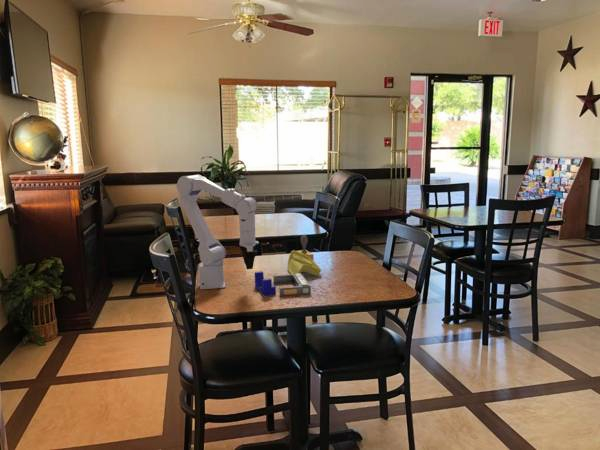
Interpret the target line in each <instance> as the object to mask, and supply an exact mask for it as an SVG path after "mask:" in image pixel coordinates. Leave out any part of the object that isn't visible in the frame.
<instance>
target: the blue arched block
mask: <svg viewBox="0 0 600 450" xmlns="http://www.w3.org/2000/svg"><path fill="white" fill-rule="evenodd" d="M272 280H273V279H272V278H271V277H270V278H264V271H254V287H255V288H256V289H257V290H258V292H260V293H261V295H262V296H263V297H266V296H273V295H276V294H277V292H276V291H277V289H276V286H275V284H272Z"/></svg>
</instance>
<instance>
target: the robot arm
mask: <svg viewBox="0 0 600 450" xmlns="http://www.w3.org/2000/svg"><path fill="white" fill-rule="evenodd" d="M175 188H176V189H177V192H178V194H179V195H178V197H179V201H180V205H181V206H182V209H183V211H184V213H185V215H186V218H187V219H188V222H189V224H190V226H191V228H192V229H193V232H194V234H195V235H196V238H197V240H198V242H199V245H198V248H197V251H198V252H199V260H200V262H201V263H202V264H198V273H199V275H198V277H199V278H198V284H199V289H200V290H209V289H210V290H211V289H213V290H214V289H224V288H226V282H225V280H224V277H225V276H224V259H225V258H226V255H227V251H226V248H225V247H224V246H223V245H222V244H221V243H220V240H219V239H217V238H215V237H214V236H213V234H212V232H211V230H210V227H209V226H208V224H207V221H206V219H205V217H204V216H203V213H202V212H201V209H200V207H199V205H198V203H197V199H198V196H199V195H200V194H201V192H202V191H205V192H207V193H210V194H212V195H213V196H216V197H218V198H220V201H221V202H222V203H224V204H225V205H227V206H229V207H231V208H233V209H235V210H236V212H237V214H238V218H239V223H238V224H239V245H238V246H239V248H240V251H241V254H242V258H243V259H242V260H243V263H244V264H245V268H246V270H253V268H254V262H255V258H256V255H257V254H258V250H255V249H254V247H255V246H256V245H259V244H260V242H259V241H258V240H256V211H257V209H258V202H257V200H256V199H255V198H253V197H252V196H248V197H246V194H241V193H238V191H236V189H235V188H226V189H225V188H223V187H221V186H219V185H218V184H216V183H215V182H212V181H211V180H209V179H207V177H206V176H202V175H200V174H198V173H197V174H193V175H182V176H180V177H179V178H178V180H177V183H176V186H175Z"/></svg>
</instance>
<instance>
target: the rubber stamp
mask: <svg viewBox="0 0 600 450" xmlns="http://www.w3.org/2000/svg"><path fill="white" fill-rule="evenodd" d="M308 241H309V239H308V237H307V235H305V234H304V235H301V236H300V243H301V244H300V245H301V246H302V249H301V250H296V251H297V252H299V253H302V254H304V255H306V256H308V257H309V258H311V259H312V260H313V261H314V262H315V260H314V254H313V253H312V252H310V251H308V250H307V249H306V248H307V244H308Z"/></svg>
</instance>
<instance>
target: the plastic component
mask: <svg viewBox="0 0 600 450" xmlns="http://www.w3.org/2000/svg"><path fill="white" fill-rule="evenodd" d="M297 251H298V250H294V249H293V250H292V251H291V252H290V254H289V257H288V261H287V270H288V271H287V272H288V273H289V275H291V274H297V273H300V274H302V273H304V272H305V273H307V274H309V275H312V276H315V277H318V276H320V273H321V271H322V268H321V267H320V266H319V265H318V264H317V263H316V262H315V260H314V261H313V260H312V259H311V258H309V257H308V256H306V255H304V254H302V253H299V252H297Z"/></svg>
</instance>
